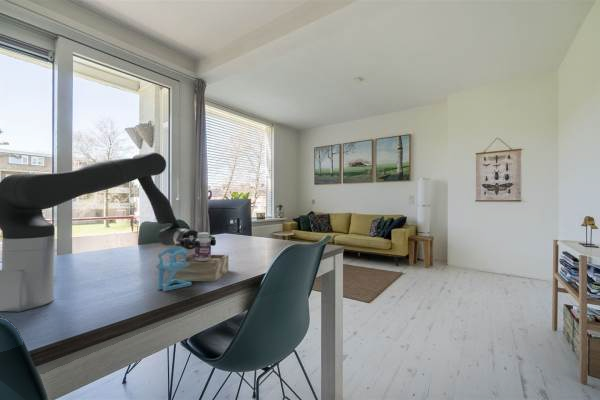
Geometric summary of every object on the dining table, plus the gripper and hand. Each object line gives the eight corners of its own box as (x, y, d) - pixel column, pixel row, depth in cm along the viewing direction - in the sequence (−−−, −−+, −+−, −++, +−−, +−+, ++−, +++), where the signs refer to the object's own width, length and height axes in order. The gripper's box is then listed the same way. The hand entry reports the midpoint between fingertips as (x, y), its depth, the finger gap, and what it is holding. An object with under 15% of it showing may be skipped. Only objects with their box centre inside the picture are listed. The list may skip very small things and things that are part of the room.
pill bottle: (200, 262, 90) (200, 234, 90) (191, 259, 94) (192, 232, 94) (213, 259, 95) (214, 232, 95) (205, 257, 98) (205, 231, 98)
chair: (151, 289, 79) (152, 249, 79) (175, 281, 86) (176, 245, 86) (169, 293, 75) (169, 251, 76) (192, 285, 83) (192, 247, 83)
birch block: (215, 281, 87) (215, 263, 87) (173, 280, 87) (174, 262, 87) (228, 270, 101) (228, 254, 101) (192, 269, 101) (192, 254, 101)
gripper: (167, 230, 99) (186, 234, 87) (204, 228, 109) (225, 231, 98) (167, 250, 99) (186, 257, 87) (203, 245, 109) (224, 251, 98)
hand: (206, 243), depth 93 cm, fingers closed on pill bottle, 5 cm apart
